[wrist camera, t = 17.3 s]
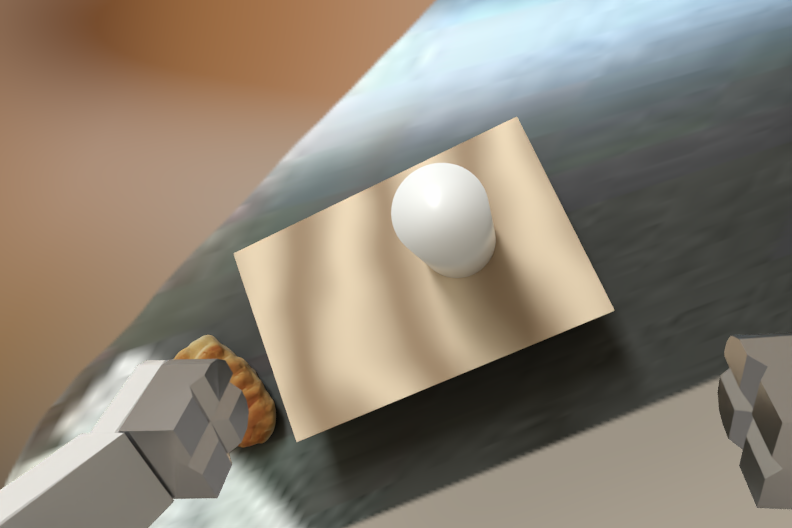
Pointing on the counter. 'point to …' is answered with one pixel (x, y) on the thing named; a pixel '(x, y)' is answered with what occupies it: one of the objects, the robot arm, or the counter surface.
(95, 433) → the robot arm
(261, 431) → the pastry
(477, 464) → the counter surface
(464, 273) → the white rounded block
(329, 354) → the wooden board
